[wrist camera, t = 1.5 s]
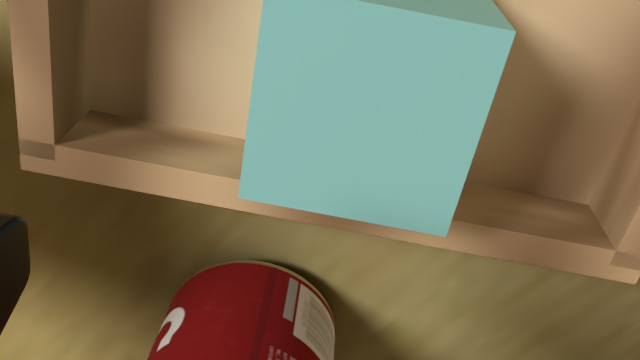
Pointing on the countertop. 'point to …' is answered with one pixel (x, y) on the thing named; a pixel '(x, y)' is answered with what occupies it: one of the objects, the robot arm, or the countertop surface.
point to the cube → (371, 106)
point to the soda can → (246, 316)
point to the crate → (234, 100)
